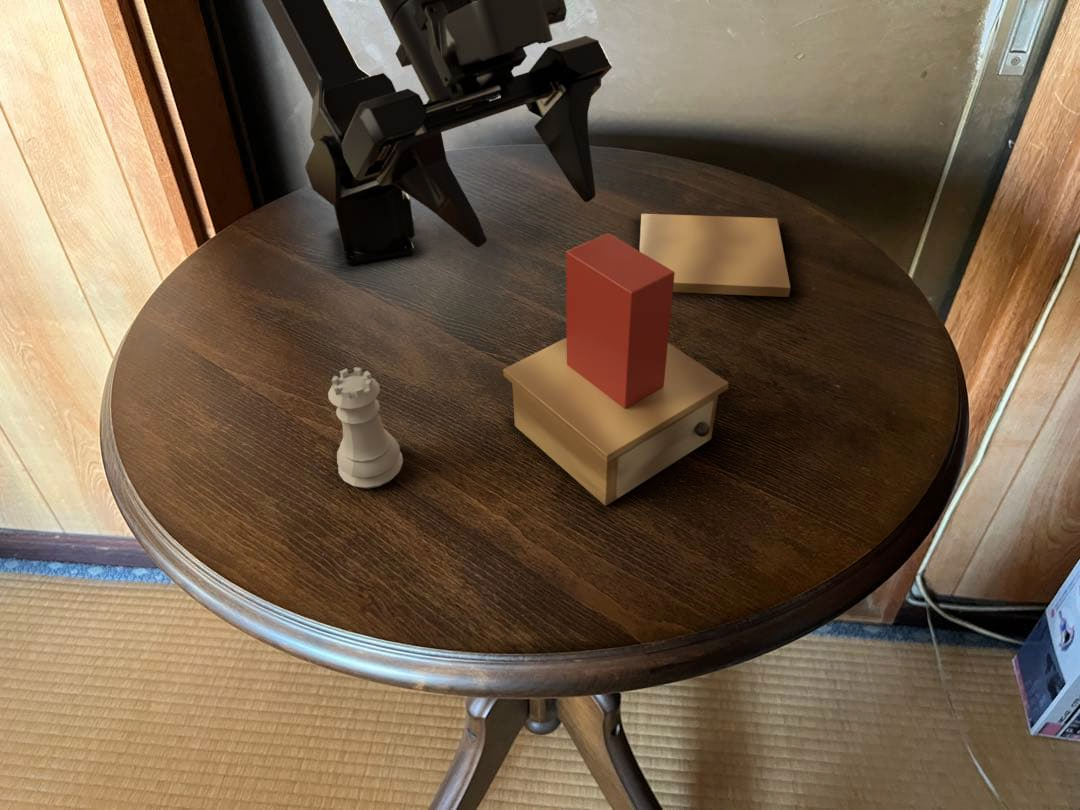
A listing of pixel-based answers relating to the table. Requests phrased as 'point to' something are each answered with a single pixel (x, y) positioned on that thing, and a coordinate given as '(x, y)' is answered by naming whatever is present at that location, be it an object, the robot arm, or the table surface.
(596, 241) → the tall red upright block
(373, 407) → the rook chess piece
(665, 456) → the cabinet
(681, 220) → the board
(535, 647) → the table surface
